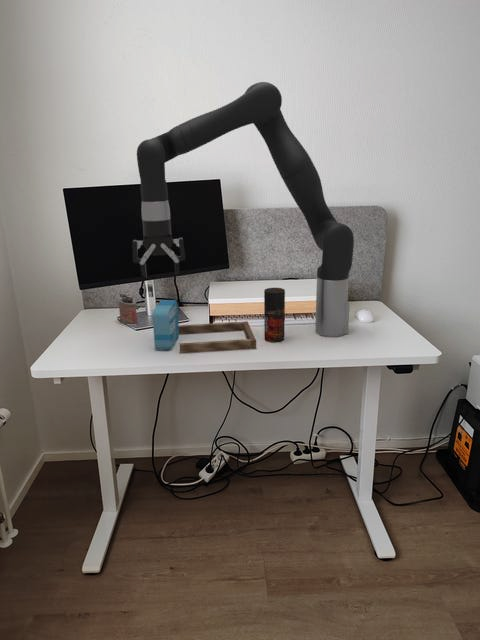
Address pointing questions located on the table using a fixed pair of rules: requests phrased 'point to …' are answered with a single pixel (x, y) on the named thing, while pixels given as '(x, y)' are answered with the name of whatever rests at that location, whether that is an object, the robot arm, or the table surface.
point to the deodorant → (274, 315)
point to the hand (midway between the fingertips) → (160, 276)
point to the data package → (165, 324)
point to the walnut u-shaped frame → (217, 345)
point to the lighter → (127, 309)
